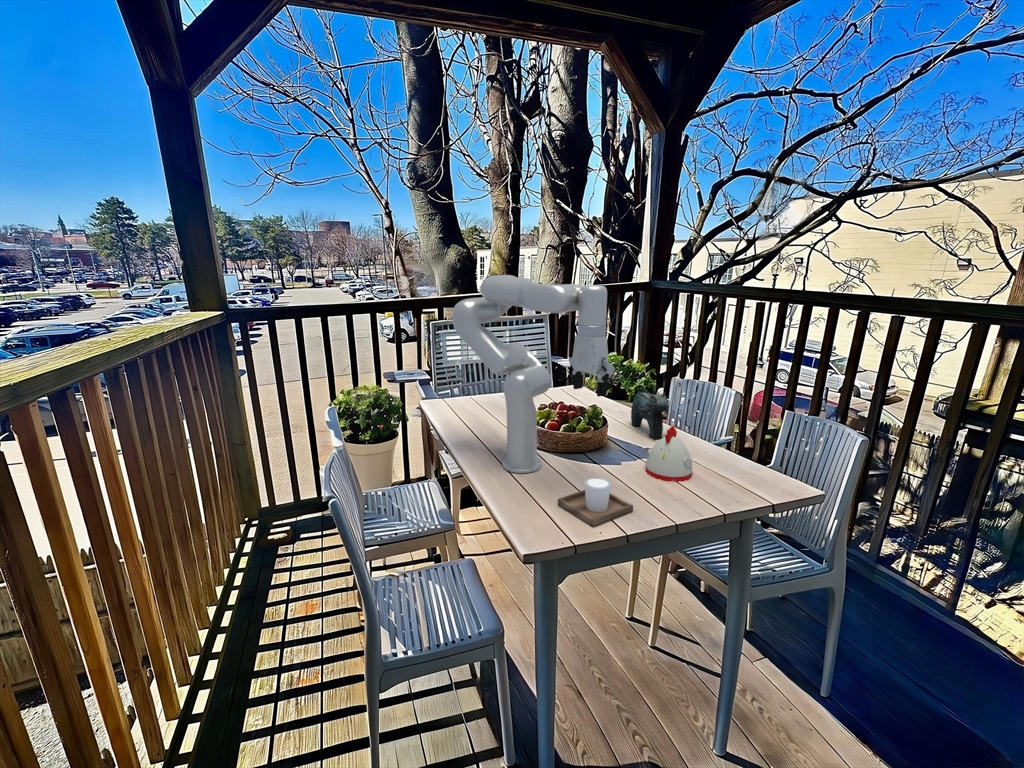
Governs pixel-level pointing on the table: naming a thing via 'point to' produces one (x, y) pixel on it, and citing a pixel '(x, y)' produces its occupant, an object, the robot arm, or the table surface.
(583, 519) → the walnut tray
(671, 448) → the kitchen timer
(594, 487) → the shot glass
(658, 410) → the dark green animal figurine
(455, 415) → the table surface
